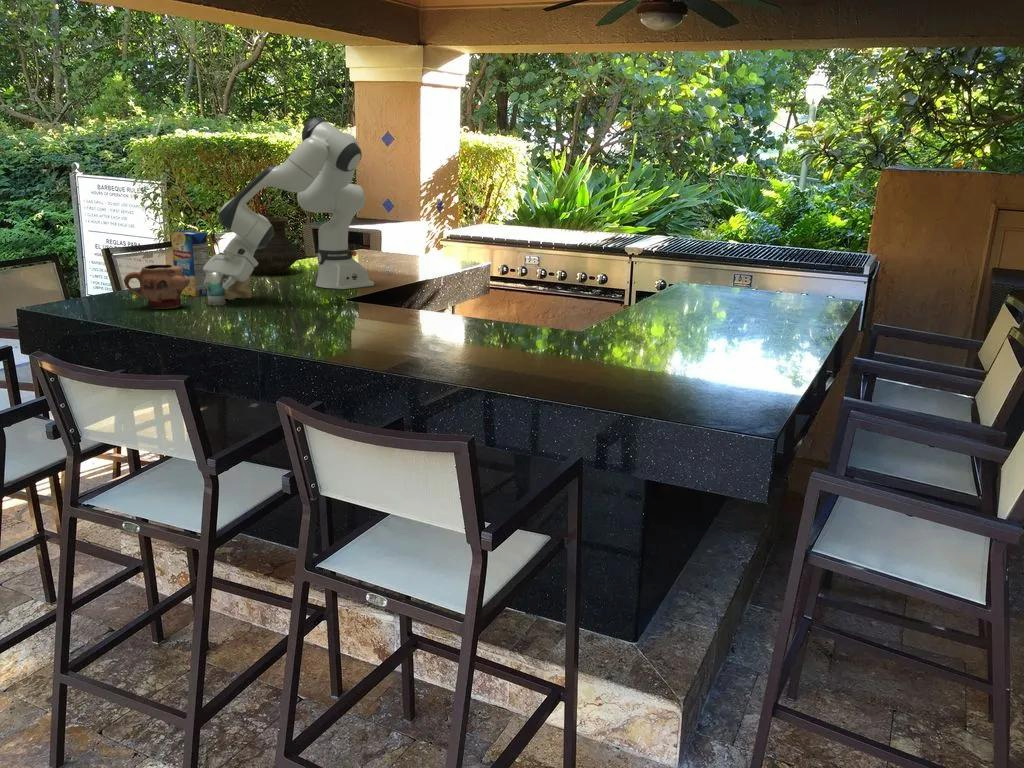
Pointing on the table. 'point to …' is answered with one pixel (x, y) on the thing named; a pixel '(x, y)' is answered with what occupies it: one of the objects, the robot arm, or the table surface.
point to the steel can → (215, 288)
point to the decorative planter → (160, 285)
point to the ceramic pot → (276, 250)
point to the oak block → (239, 289)
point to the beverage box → (191, 258)
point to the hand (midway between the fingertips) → (214, 286)
